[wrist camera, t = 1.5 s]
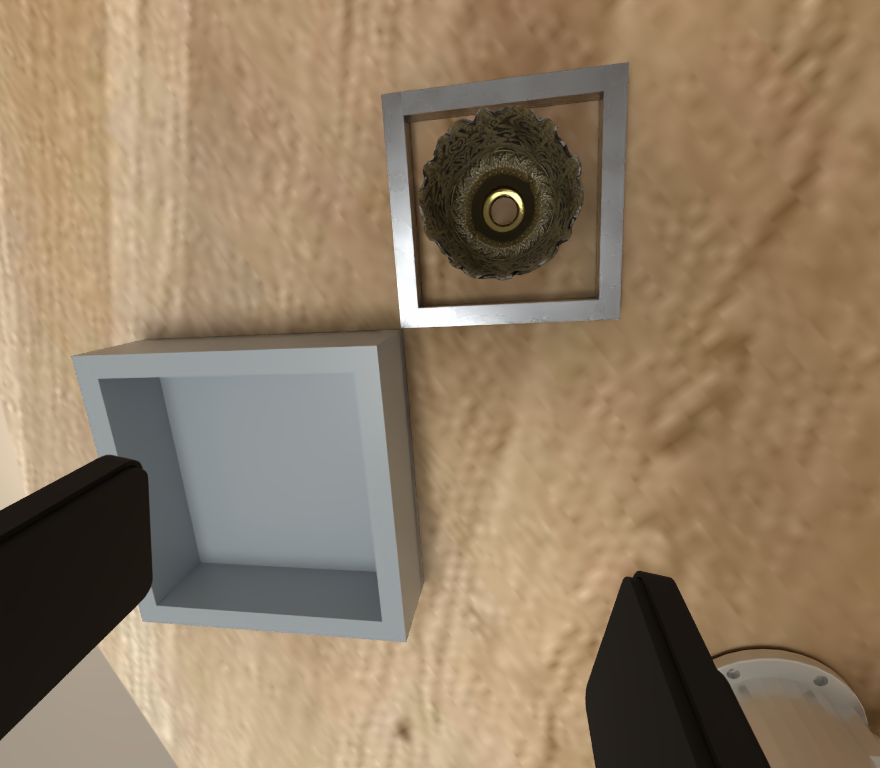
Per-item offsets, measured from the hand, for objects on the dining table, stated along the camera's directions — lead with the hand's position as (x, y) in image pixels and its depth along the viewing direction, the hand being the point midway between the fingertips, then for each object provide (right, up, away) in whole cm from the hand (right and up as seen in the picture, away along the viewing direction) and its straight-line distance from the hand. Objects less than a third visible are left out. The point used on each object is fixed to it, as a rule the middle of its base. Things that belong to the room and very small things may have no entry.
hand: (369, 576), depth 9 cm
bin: (-10, -2, +27) cm, 29 cm away
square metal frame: (+5, +14, +20) cm, 25 cm away
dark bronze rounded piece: (+5, +14, +20) cm, 25 cm away
